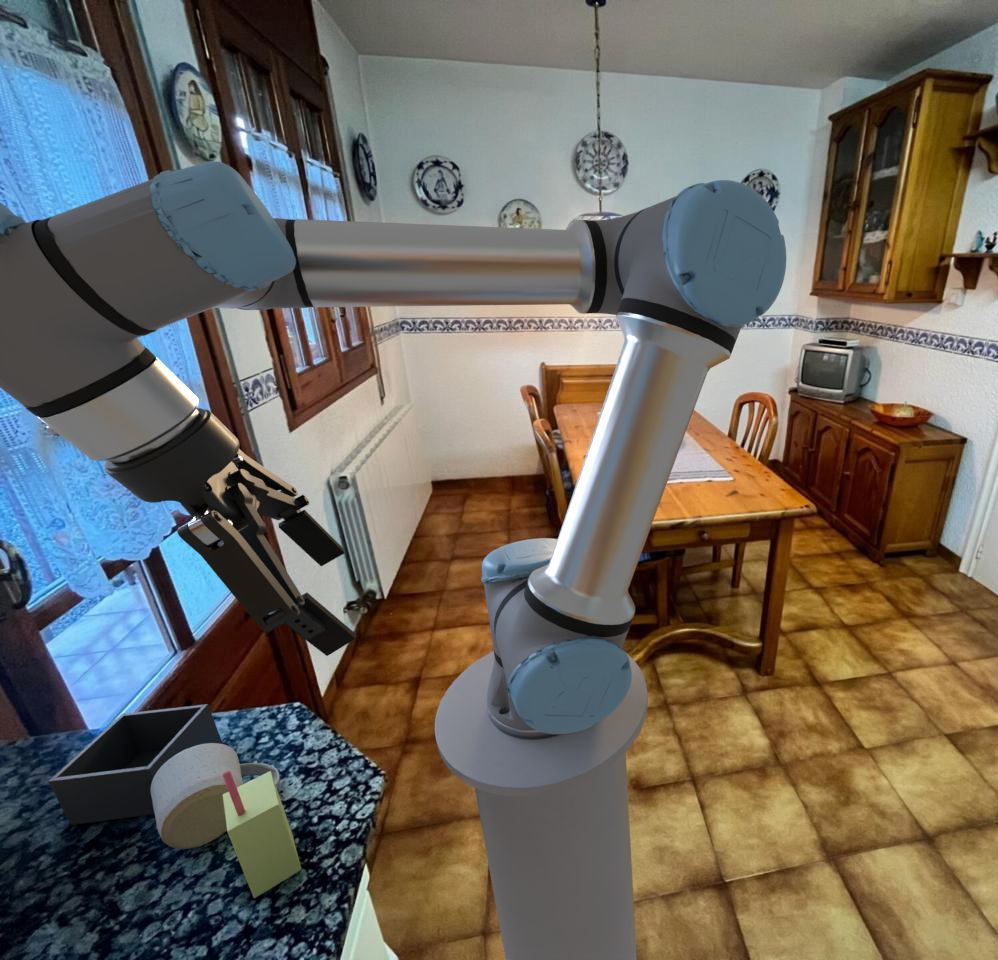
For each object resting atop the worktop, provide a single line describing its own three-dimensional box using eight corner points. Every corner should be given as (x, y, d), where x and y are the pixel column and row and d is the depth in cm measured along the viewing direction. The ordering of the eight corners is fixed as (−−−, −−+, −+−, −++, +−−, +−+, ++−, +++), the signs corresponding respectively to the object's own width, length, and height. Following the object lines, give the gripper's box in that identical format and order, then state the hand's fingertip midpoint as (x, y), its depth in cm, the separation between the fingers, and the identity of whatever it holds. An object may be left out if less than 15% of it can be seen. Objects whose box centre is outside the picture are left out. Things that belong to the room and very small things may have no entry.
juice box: (292, 833, 56) (257, 731, 52) (301, 869, 53) (264, 763, 48) (247, 859, 54) (206, 754, 49) (254, 898, 50) (210, 789, 46)
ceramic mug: (171, 871, 53) (147, 815, 50) (162, 820, 58) (140, 767, 56) (290, 802, 60) (274, 750, 58) (273, 762, 65) (258, 713, 63)
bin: (222, 743, 69) (208, 703, 67) (168, 812, 59) (148, 769, 57) (139, 753, 67) (122, 713, 65) (70, 825, 58) (47, 781, 56)
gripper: (137, 398, 47) (299, 547, 60) (36, 558, 28) (301, 720, 42) (221, 360, 48) (360, 513, 62) (177, 488, 30) (388, 665, 44)
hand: (336, 597), depth 52 cm, fingers open, 13 cm apart
